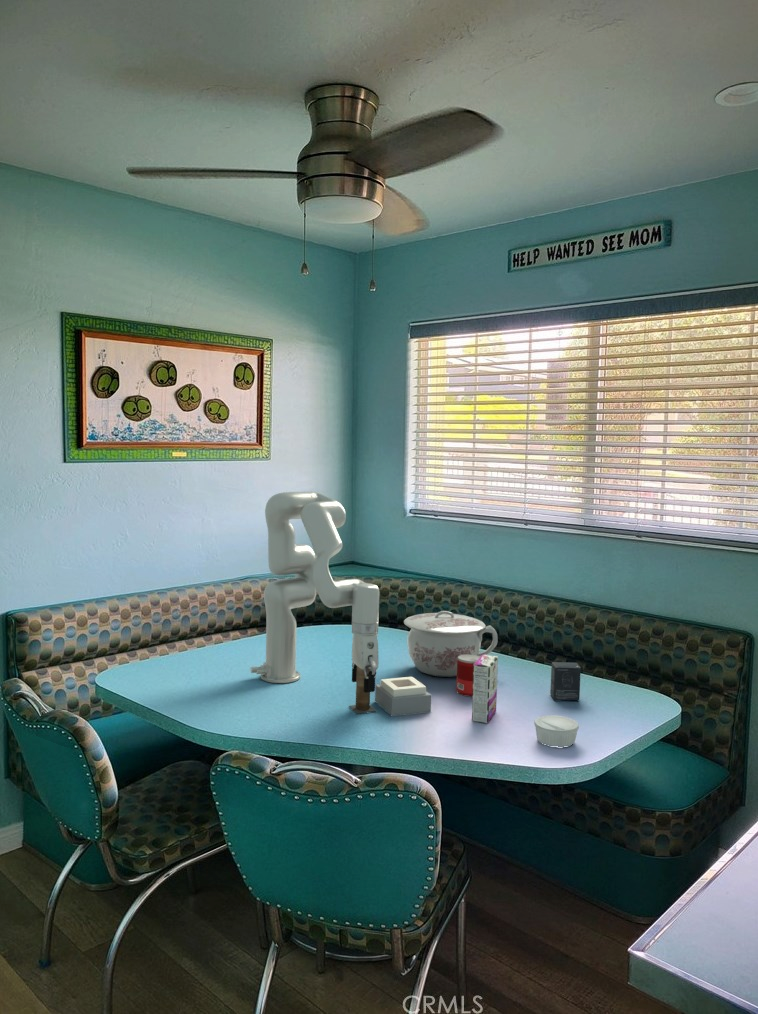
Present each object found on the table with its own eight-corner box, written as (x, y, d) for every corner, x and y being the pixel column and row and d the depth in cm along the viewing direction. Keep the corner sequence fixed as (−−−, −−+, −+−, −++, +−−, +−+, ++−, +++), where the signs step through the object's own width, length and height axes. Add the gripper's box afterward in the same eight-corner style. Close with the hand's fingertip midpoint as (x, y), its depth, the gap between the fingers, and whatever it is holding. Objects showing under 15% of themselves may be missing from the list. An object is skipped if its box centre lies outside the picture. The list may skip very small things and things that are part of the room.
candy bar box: (479, 709, 227) (481, 653, 226) (496, 711, 225) (499, 655, 224) (470, 721, 217) (472, 663, 215) (488, 724, 215) (490, 666, 214)
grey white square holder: (391, 716, 219) (392, 691, 218) (375, 701, 231) (375, 678, 230) (430, 712, 223) (431, 688, 223) (412, 697, 235) (412, 674, 235)
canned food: (481, 697, 237) (482, 662, 236) (454, 695, 239) (456, 659, 238) (482, 689, 245) (484, 655, 244) (457, 687, 246) (458, 653, 245)
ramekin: (530, 746, 201) (531, 726, 200) (537, 731, 211) (538, 712, 211) (574, 753, 197) (575, 733, 196) (580, 738, 207) (581, 718, 207)
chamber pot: (384, 669, 263) (386, 608, 262) (439, 655, 282) (441, 598, 281) (447, 690, 243) (450, 624, 242) (501, 673, 262) (504, 613, 261)
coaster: (356, 714, 220) (356, 712, 220) (349, 707, 225) (349, 705, 225) (376, 711, 222) (376, 710, 222) (368, 705, 227) (368, 703, 227)
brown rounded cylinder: (371, 709, 222) (373, 661, 221) (358, 711, 221) (359, 662, 220) (366, 705, 226) (368, 657, 225) (353, 706, 225) (355, 658, 223)
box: (574, 695, 242) (576, 662, 241) (579, 701, 237) (581, 667, 236) (549, 694, 242) (551, 661, 241) (553, 700, 237) (555, 666, 236)
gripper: (388, 634, 215) (386, 694, 216) (366, 619, 231) (364, 676, 232) (363, 635, 212) (361, 697, 214) (342, 621, 228) (340, 678, 230)
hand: (363, 686), depth 223 cm, fingers open, 9 cm apart
